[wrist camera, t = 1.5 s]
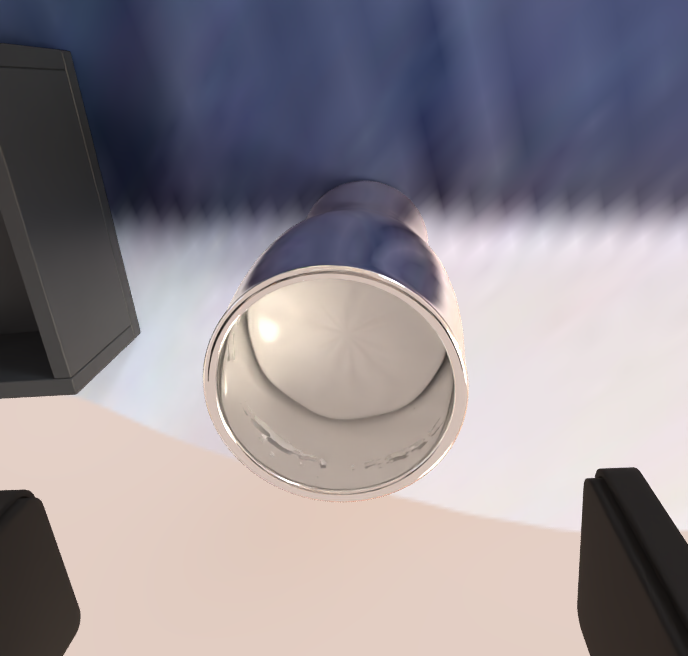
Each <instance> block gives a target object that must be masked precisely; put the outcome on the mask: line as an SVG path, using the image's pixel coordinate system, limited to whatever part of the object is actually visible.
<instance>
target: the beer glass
mask: <svg viewBox="0 0 688 656" xmlns="http://www.w3.org/2000/svg"><path fill="white" fill-rule="evenodd" d="M203 388H204V395H205V401H206V405H207V408H208V412H209V415H210V417H211V420H212V422H213V424H214V426H215V428H216V430H217V432H218V434H219V435H220V437H221V439H222V440H223V442H224V443H225V445H226V446H227V447H228V448H229V450H230V451H231V452H232V453H233V454H234V456H235V457H236V458H237V459H238V460H239V461H240V462H241V463H242V464H243V465H245V466H246V467H247V468H248V469H249V470H251V471H252V472H253V473H254V474H256V475H257V476H259V477H260V478H262V479H263V480H265V481H267V482H269V483H270V484H272V485H274V486H276V487H278V488H280V489H282V490H285V491H287V492H290V493H292V494H295V495H298V496H302V497H306V498H310V499H315V500H320V501H321V500H322V501H329V502H356V501H364V500H369V499H374V498H378V497H382V496H386V495H389V494H391V493H394V492H397V491H399V490H401V489H403V488H405V487H407V486H409V485H411V484H413V483H414V482H416V481H417V480H419V479H420V478H422V477H423V476H425V475H426V474H427V473H428V472H430V471H431V470H432V469H433V468H434V467H435V466H436V465H437V464H438V463H439V462H440V461H441V460H442V459H443V458H444V456H445V455H446V454H447V452H448V451H449V450H450V448H451V447H452V445H453V444H454V442H455V440H456V438H457V436H458V434H459V432H460V430H461V427H462V425H463V422H464V418H465V414H466V410H467V405H468V395H469V383H468V373H467V368H466V363H465V348H464V336H463V327H462V321H461V316H460V311H459V306H458V302H457V298H456V295H455V292H454V289H453V287H452V284H451V282H450V279H449V277H448V274H447V272H446V270H445V268H444V266H443V264H442V263H441V261H440V259H439V258H438V257H437V255H436V254H435V252H434V251H433V250H432V249H431V248H430V246H429V245H428V235H427V230H426V226H425V223H424V221H423V218H422V216H421V214H420V212H419V210H418V209H417V207H416V206H415V205H414V203H413V202H412V201H411V200H410V199H409V198H408V197H407V196H405V195H404V194H403V193H402V192H400V191H399V190H397V189H395V188H393V187H391V186H389V185H386V184H383V183H380V182H374V181H354V182H349V183H345V184H342V185H340V186H337V187H335V188H333V189H332V190H330V191H328V192H327V193H326V194H324V195H323V196H322V197H321V198H320V199H319V200H318V201H317V202H316V203H315V204H314V206H313V207H312V209H311V210H310V212H309V214H308V216H307V218H306V220H304V221H302V222H300V223H298V224H296V225H294V226H293V227H291V228H290V229H288V230H287V231H285V232H284V233H283V234H282V235H280V236H279V237H278V238H277V239H276V240H275V241H274V242H273V243H272V244H271V245H270V246H269V247H268V248H267V249H266V250H265V251H264V252H263V253H262V254H261V255H260V256H259V258H258V259H257V260H256V261H255V263H254V264H253V266H252V267H251V268H250V270H249V271H248V273H247V274H246V276H245V277H244V279H243V280H242V282H241V283H240V285H239V287H238V289H237V291H236V293H235V294H234V296H233V298H232V300H231V302H230V304H229V306H228V308H227V310H226V312H225V314H224V315H223V316H222V318H221V319H220V321H219V323H218V324H217V326H216V328H215V330H214V332H213V334H212V336H211V339H210V341H209V344H208V347H207V351H206V355H205V360H204V368H203Z"/></svg>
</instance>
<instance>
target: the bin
mask: <svg viewBox="0 0 688 656" xmlns="http://www.w3.org/2000/svg"><path fill="white" fill-rule="evenodd" d="M139 334H140V328H139V324H138V320H137V316H136V312H135V308H134V304H133V300H132V296H131V292H130V288H129V284H128V280H127V276H126V272H125V268H124V264H123V260H122V256H121V252H120V248H119V244H118V240H117V236H116V232H115V228H114V224H113V220H112V216H111V212H110V208H109V204H108V200H107V196H106V192H105V188H104V184H103V180H102V176H101V172H100V168H99V164H98V160H97V156H96V152H95V148H94V144H93V140H92V136H91V132H90V128H89V125H88V121H87V117H86V113H85V109H84V105H83V101H82V97H81V93H80V89H79V85H78V81H77V77H76V73H75V69H74V65H73V61H72V57H71V53H70V51H64V50H57V49H49V48H40V47H32V46H23V45H15V44H6V43H0V399H2V398H20V397H38V396H57V395H75V394H77V393H78V392H79V391H81V390H82V389H83V388H84V387H85V386H86V385H87V384H88V383H89V382H90V381H91V380H92V379H93V378H94V377H95V376H96V375H97V374H98V373H99V372H100V371H101V370H102V369H104V368H105V367H106V366H107V365H108V364H109V363H110V362H111V361H112V360H113V359H114V358H115V357H116V356H117V355H118V354H119V353H120V352H121V351H122V350H123V349H124V348H125V347H127V346H128V345H129V344H130V343H131V342H132V341H133V340H134V338H136V337H137V336H138V335H139Z"/></svg>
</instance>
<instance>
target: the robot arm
mask: <svg viewBox="0 0 688 656" xmlns="http://www.w3.org/2000/svg"><path fill="white" fill-rule="evenodd" d="M577 609H578V617H579V623H580V627H581V630H582V633H583V636H584V639H585V642H586V645H587V648H588V651H589V653H590V656H688V544H687V542H686V541H685V539H684V538H683V536H682V535H681V533H680V532H679V530H678V529H677V527H676V526H675V524H674V523H673V521H672V520H671V518H670V517H669V515H668V513H667V512H666V510H665V509H664V507H663V506H662V504H661V503H660V501H659V500H658V498H657V497H656V495H655V494H654V492H653V491H652V489H651V488H650V486H649V484H648V483H647V481H646V480H645V478H644V477H643V475H642V474H641V472H640V471H639V470H638V469H637V468H634V467H632V468H605V469H598V470H597V472H596V474H595V478H587V479H585V482H584V489H583V508H582V526H581V545H580V563H579V582H578V601H577ZM79 624H80V609H79V606H78V603H77V600H76V598H75V595H74V592H73V589H72V586H71V583H70V580H69V577H68V574H67V572H66V569H65V566H64V563H63V560H62V557H61V555H60V552H59V549H58V546H57V543H56V540H55V537H54V534H53V531H52V529H51V526H50V523H49V520H48V517H47V514H46V511H45V509H44V506H43V503H42V502H41V500H39V499H38V498H35V496H34V494H32V493H31V492H30V491H28V490H4V491H3V490H2V491H0V656H63V655H64V653H65V652H66V649H67V648H68V647H69V645H70V643H71V641H72V640H73V638H74V636H75V635H76V633H77V631H78V628H79Z"/></svg>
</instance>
